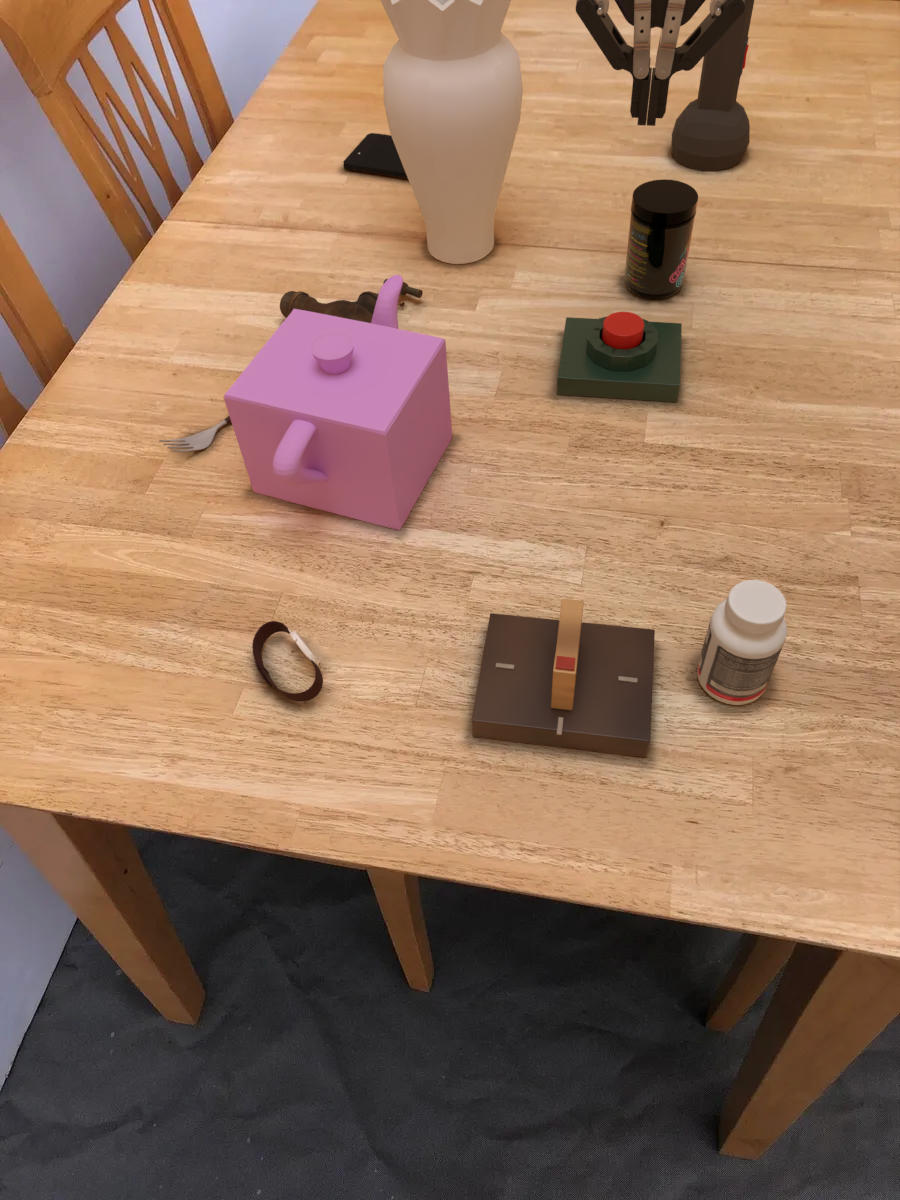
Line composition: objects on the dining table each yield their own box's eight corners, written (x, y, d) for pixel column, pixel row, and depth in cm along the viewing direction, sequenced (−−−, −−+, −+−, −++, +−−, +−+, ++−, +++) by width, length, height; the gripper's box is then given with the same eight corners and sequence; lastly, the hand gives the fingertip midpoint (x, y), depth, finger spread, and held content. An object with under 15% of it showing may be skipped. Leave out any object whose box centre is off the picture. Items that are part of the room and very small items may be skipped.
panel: (651, 643, 74) (655, 624, 72) (646, 762, 68) (650, 744, 66) (491, 627, 76) (490, 608, 74) (471, 741, 70) (470, 723, 68)
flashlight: (662, 167, 119) (741, 176, 117) (692, -59, 100) (787, -55, 97) (676, 131, 125) (751, 139, 123) (706, -90, 105) (796, -87, 103)
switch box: (678, 340, 98) (684, 308, 95) (677, 402, 92) (682, 370, 89) (565, 334, 99) (567, 302, 96) (556, 394, 94) (557, 362, 90)
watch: (340, 688, 73) (332, 662, 71) (288, 719, 72) (279, 694, 69) (292, 626, 77) (284, 599, 75) (243, 654, 76) (232, 628, 73)
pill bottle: (781, 690, 71) (813, 614, 63) (722, 717, 70) (748, 643, 62) (739, 639, 74) (765, 561, 66) (682, 664, 73) (702, 587, 65)
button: (643, 327, 94) (645, 312, 92) (641, 351, 91) (643, 336, 90) (603, 324, 94) (604, 310, 93) (600, 349, 92) (602, 334, 90)
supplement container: (663, 309, 101) (676, 220, 93) (611, 288, 104) (619, 200, 96) (695, 279, 104) (710, 191, 96) (643, 260, 107) (654, 172, 99)
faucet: (262, 340, 102) (351, 286, 110) (382, 386, 94) (466, 325, 103) (255, 299, 98) (346, 247, 107) (378, 344, 91) (466, 284, 99)
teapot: (478, 391, 94) (473, 269, 83) (377, 570, 81) (355, 451, 70) (345, 363, 98) (323, 243, 87) (227, 528, 85) (184, 410, 74)
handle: (559, 637, 72) (562, 596, 68) (580, 639, 72) (584, 598, 68) (550, 708, 68) (553, 669, 64) (572, 711, 68) (576, 672, 64)
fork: (303, 386, 97) (300, 371, 95) (178, 466, 90) (172, 451, 89) (288, 376, 98) (284, 360, 96) (163, 454, 91) (157, 439, 90)
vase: (411, 290, 106) (382, 8, 83) (390, 224, 115) (359, -48, 92) (536, 269, 107) (541, -16, 84) (505, 205, 116) (502, -68, 93)
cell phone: (467, 189, 119) (467, 182, 118) (342, 170, 123) (341, 163, 123) (491, 156, 124) (491, 149, 123) (369, 138, 128) (369, 132, 128)
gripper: (774, -160, 64) (728, 101, 77) (581, -156, 65) (569, 98, 79) (779, -125, 59) (729, 146, 73) (571, -122, 61) (561, 141, 75)
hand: (646, 121), depth 76 cm, fingers closed
